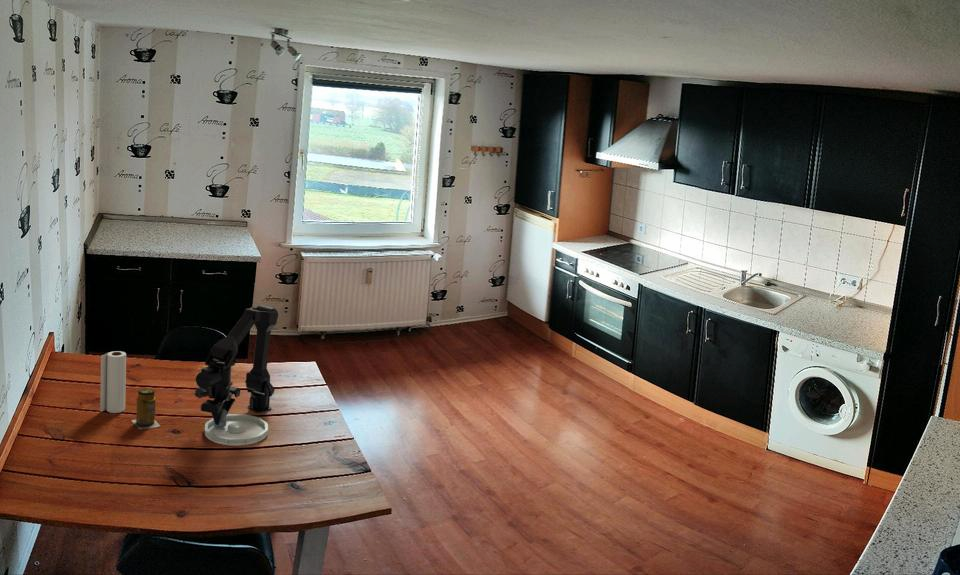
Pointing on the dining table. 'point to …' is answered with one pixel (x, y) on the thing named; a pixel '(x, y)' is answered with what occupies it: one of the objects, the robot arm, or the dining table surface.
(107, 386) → the paper towel roll
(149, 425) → the condiment
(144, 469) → the dining table surface
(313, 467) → the dining table surface
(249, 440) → the tray
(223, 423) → the blue-grey short cylinder
